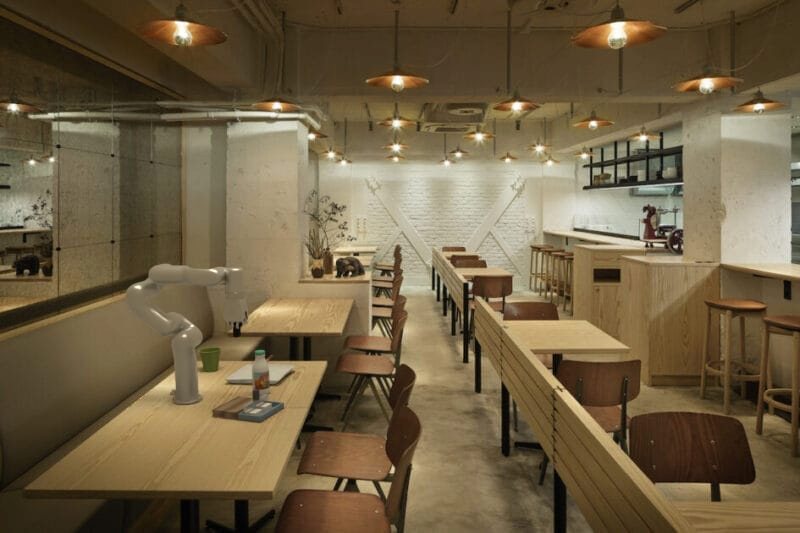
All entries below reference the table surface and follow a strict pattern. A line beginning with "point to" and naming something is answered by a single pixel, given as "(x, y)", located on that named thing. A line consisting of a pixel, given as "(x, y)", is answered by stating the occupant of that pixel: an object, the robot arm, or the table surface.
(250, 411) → the white tile
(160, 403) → the table surface
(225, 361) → the table surface
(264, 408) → the white tile
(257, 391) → the bar
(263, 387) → the milk bottle
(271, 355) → the kitchen cleaver
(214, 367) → the plant pot
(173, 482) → the table surface
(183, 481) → the table surface
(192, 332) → the robot arm
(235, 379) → the square plate
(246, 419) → the box
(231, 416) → the walnut board
